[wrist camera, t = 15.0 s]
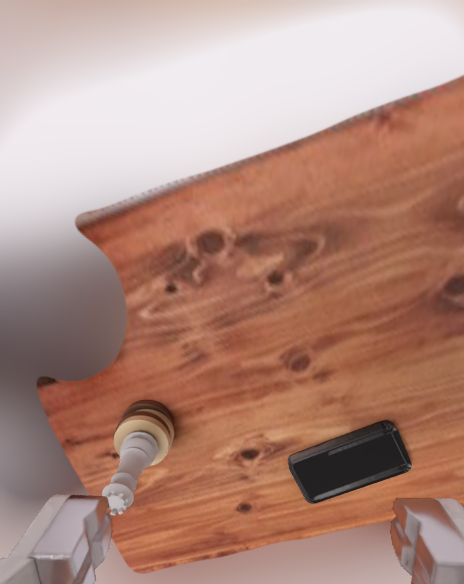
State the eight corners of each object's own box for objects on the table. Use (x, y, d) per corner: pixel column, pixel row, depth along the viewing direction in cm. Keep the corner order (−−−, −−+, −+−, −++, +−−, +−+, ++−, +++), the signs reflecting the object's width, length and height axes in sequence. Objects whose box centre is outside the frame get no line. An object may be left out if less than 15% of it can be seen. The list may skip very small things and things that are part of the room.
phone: (414, 469, 38) (309, 505, 40) (409, 462, 39) (307, 498, 41) (394, 423, 37) (286, 463, 39) (390, 417, 38) (284, 456, 40)
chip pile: (186, 416, 39) (180, 435, 36) (162, 455, 41) (155, 477, 37) (136, 391, 38) (125, 408, 35) (114, 432, 40) (101, 452, 37)
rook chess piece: (152, 463, 37) (128, 528, 29) (119, 451, 37) (86, 513, 29) (164, 436, 36) (142, 496, 28) (130, 424, 35) (98, 481, 28)
